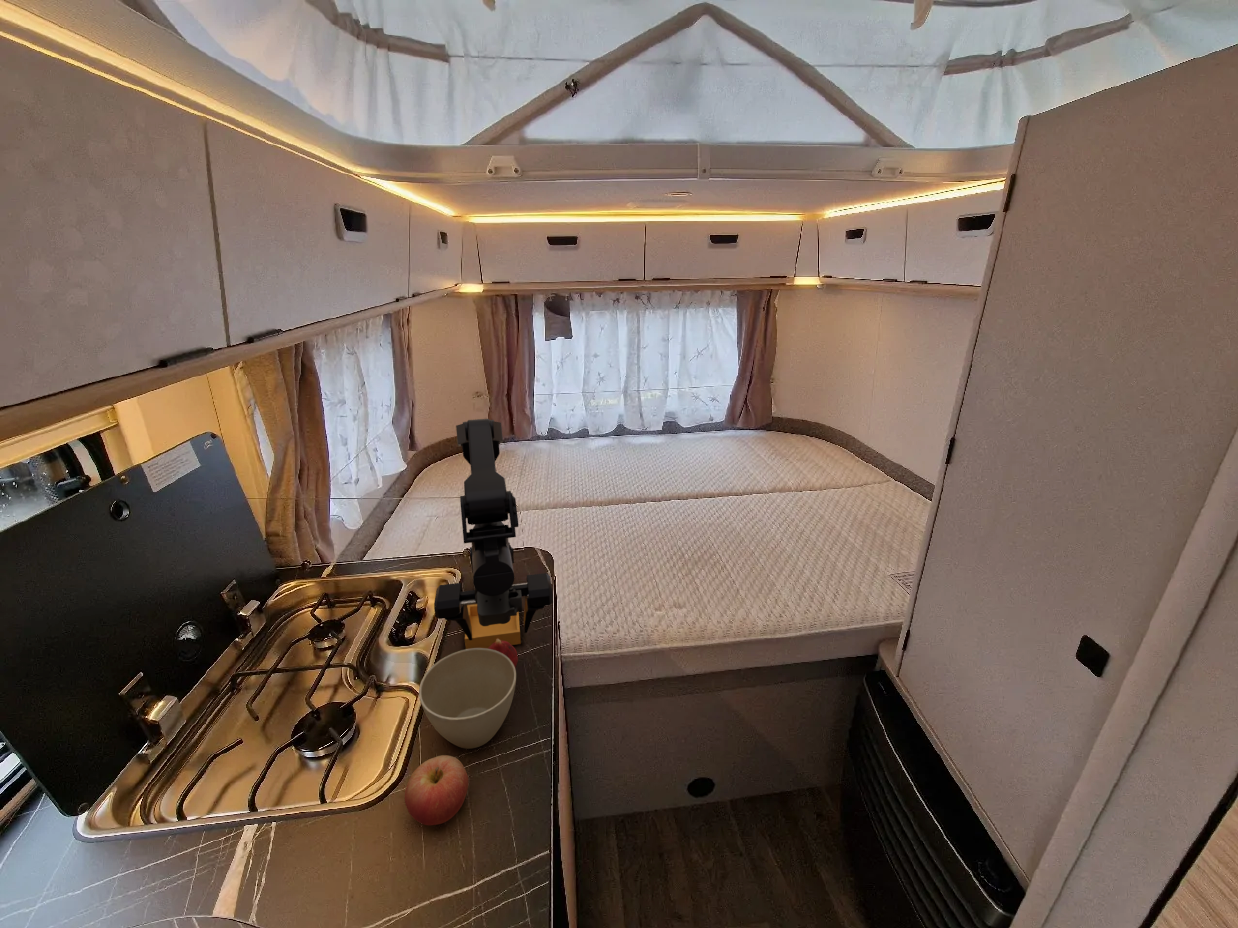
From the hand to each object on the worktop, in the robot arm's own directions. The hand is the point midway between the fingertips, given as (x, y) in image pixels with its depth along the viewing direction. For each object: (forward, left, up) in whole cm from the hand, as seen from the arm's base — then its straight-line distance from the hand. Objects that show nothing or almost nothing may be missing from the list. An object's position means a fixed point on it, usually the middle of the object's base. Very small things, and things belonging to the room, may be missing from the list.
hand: (498, 634), depth 89 cm
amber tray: (-12, -1, -9) cm, 15 cm away
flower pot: (+11, -4, -9) cm, 15 cm away
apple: (+23, -8, -9) cm, 26 cm away
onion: (0, 0, -9) cm, 9 cm away
